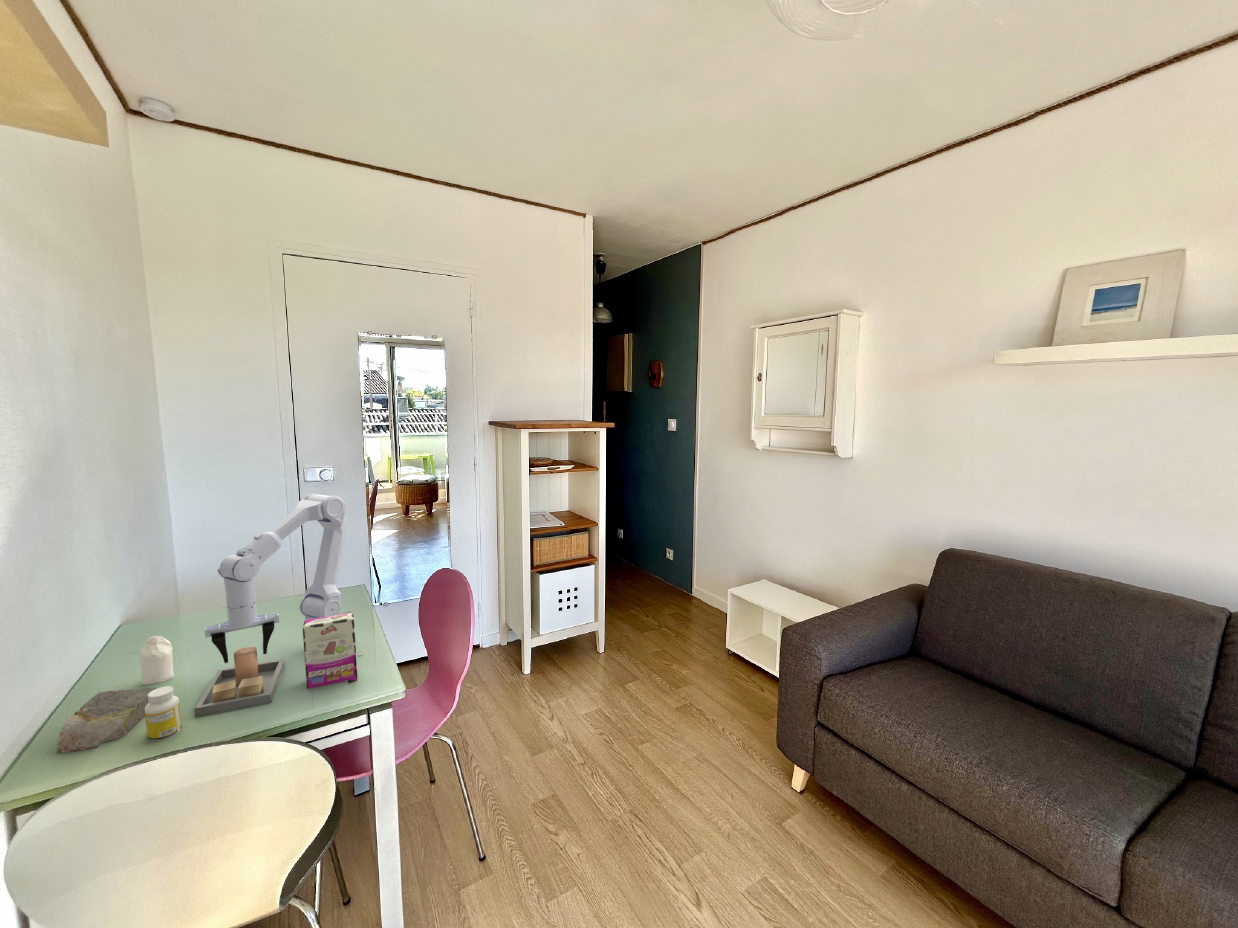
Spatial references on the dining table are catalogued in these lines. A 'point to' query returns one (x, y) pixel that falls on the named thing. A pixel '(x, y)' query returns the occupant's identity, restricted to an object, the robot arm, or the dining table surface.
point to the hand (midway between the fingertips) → (246, 656)
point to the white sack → (156, 660)
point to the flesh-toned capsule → (245, 664)
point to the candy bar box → (330, 650)
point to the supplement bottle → (162, 714)
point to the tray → (270, 682)
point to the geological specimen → (103, 719)
